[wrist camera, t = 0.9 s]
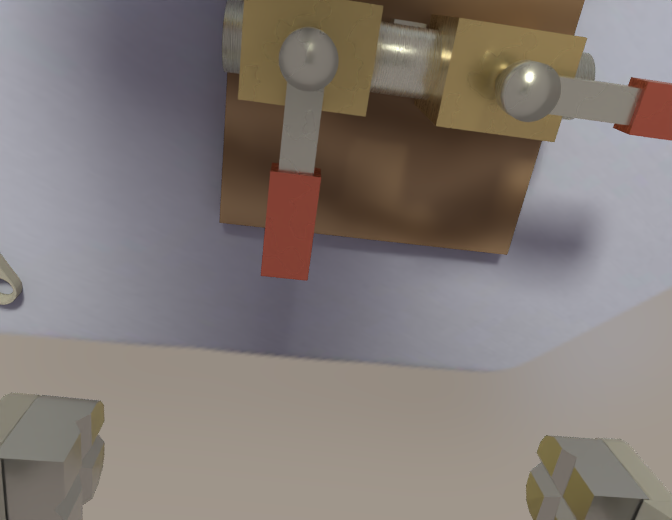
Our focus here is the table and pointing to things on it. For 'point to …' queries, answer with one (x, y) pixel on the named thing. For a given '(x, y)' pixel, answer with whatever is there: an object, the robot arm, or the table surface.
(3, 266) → the adjustable wrench
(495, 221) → the base board
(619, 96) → the pipe manifold
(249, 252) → the table surface
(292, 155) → the valve lever
